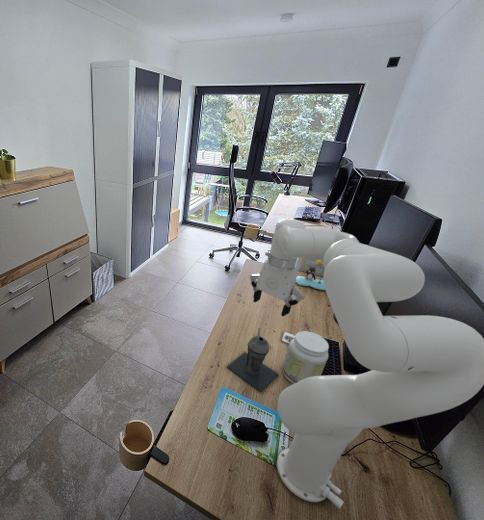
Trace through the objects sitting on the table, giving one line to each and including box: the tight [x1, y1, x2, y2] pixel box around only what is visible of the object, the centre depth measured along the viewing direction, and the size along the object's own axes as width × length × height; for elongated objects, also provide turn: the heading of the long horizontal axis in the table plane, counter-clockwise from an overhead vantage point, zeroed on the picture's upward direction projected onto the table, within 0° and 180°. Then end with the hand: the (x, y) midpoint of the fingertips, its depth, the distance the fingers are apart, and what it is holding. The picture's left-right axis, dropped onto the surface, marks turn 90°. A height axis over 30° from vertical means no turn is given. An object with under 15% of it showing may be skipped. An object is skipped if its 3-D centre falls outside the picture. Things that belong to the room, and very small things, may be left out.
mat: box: [226, 352, 279, 393], centre depth 109 cm, size 14×12×1 cm
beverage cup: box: [246, 327, 270, 375], centre depth 104 cm, size 7×7×20 cm
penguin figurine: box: [295, 259, 326, 291], centre depth 161 cm, size 20×11×15 cm, turn 62°
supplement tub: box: [281, 330, 330, 385], centre depth 103 cm, size 12×12×17 cm
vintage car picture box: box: [281, 331, 296, 345], centre depth 121 cm, size 15×7×4 cm, turn 56°
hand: (269, 307), depth 94 cm, fingers open, 9 cm apart
